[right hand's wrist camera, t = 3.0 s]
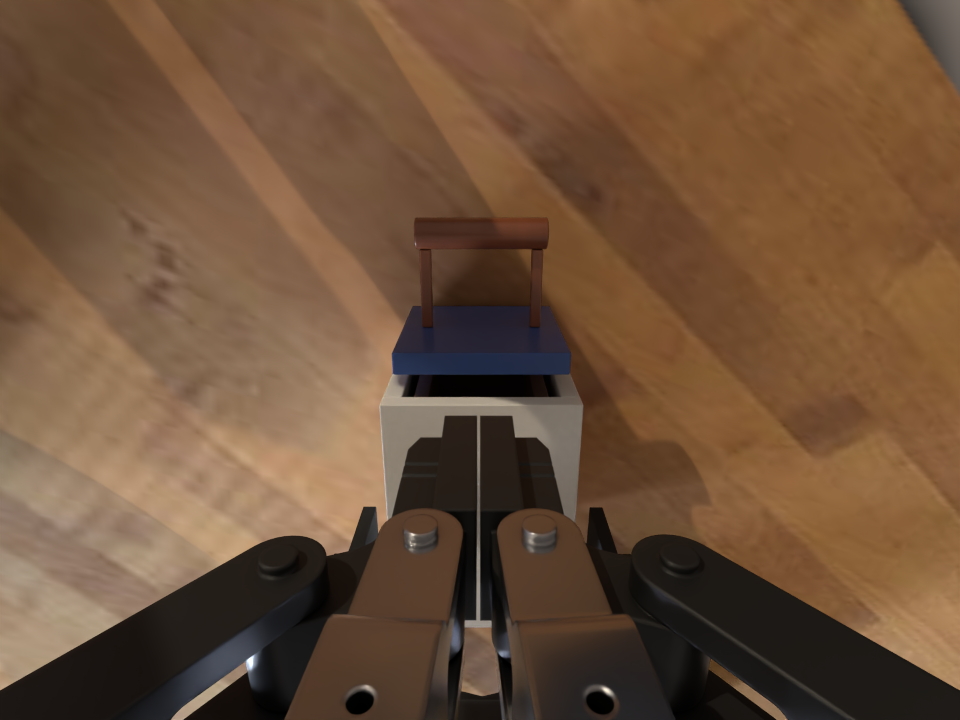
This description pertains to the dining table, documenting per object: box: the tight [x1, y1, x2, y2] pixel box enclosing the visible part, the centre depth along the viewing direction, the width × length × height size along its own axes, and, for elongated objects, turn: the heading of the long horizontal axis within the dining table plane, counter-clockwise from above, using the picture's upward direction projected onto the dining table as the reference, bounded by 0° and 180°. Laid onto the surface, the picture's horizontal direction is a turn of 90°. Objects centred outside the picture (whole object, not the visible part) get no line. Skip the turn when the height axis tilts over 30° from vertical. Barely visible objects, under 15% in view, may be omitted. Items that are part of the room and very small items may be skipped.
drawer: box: [392, 218, 571, 397], centre depth 34 cm, size 19×9×9 cm, turn 0°
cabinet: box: [380, 374, 583, 627], centre depth 36 cm, size 14×10×11 cm
